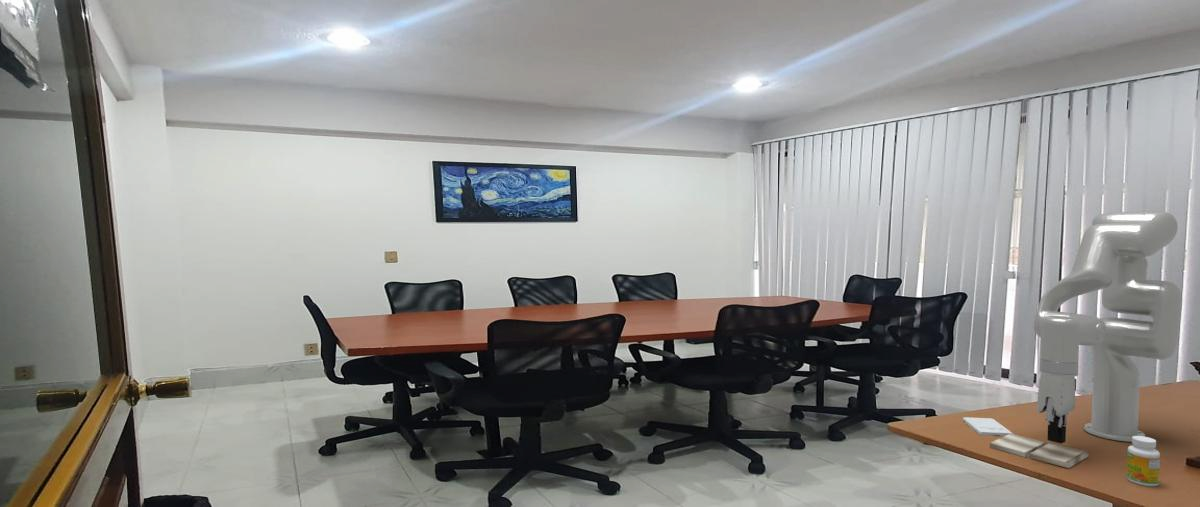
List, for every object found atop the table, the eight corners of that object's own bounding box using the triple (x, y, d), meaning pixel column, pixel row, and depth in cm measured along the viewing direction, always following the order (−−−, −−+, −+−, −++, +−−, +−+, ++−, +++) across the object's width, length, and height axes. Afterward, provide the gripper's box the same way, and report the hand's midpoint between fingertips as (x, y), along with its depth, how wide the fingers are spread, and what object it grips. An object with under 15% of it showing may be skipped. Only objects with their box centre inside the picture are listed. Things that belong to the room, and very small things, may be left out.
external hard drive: (993, 423, 176) (1013, 438, 164) (962, 422, 177) (980, 437, 165) (993, 418, 176) (1014, 432, 164) (962, 417, 177) (980, 431, 165)
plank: (1049, 447, 155) (1049, 442, 155) (1088, 456, 149) (1088, 450, 149) (1029, 458, 149) (1029, 452, 149) (1068, 468, 142) (1068, 462, 142)
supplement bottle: (1120, 477, 137) (1121, 435, 137) (1141, 476, 138) (1143, 434, 137) (1143, 487, 132) (1144, 443, 132) (1165, 486, 133) (1167, 442, 132)
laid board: (1010, 437, 163) (1010, 433, 163) (1048, 447, 156) (1048, 442, 156) (989, 447, 156) (989, 442, 156) (1027, 458, 149) (1027, 453, 149)
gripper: (1053, 360, 155) (1050, 431, 156) (1027, 368, 147) (1025, 443, 148) (1089, 366, 149) (1086, 439, 150) (1064, 374, 141) (1062, 452, 142)
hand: (1056, 441), depth 149 cm, fingers closed
